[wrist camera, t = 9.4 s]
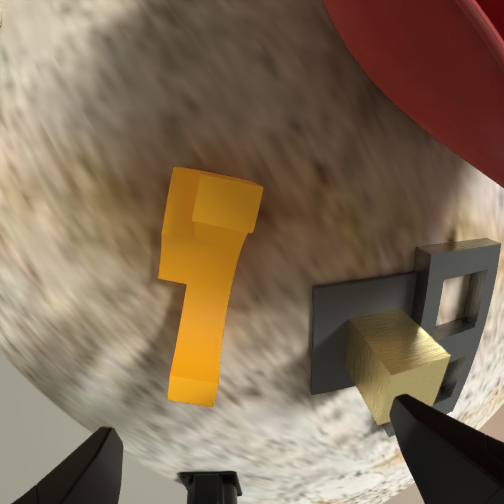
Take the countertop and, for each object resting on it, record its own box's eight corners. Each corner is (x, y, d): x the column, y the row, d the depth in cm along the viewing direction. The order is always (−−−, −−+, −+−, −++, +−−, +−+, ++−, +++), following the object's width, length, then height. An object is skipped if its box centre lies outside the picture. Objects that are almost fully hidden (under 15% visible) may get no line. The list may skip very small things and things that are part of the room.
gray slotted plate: (444, 401, 26) (452, 411, 24) (381, 424, 26) (388, 437, 24) (486, 237, 20) (500, 243, 19) (416, 247, 20) (431, 254, 18)
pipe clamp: (182, 167, 17) (159, 166, 11) (251, 180, 18) (263, 187, 12) (157, 334, 20) (137, 392, 14) (215, 345, 21) (213, 407, 15)
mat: (409, 367, 23) (411, 370, 23) (310, 392, 23) (311, 395, 23) (428, 269, 21) (430, 270, 20) (312, 286, 20) (314, 289, 20)
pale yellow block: (392, 354, 22) (432, 405, 15) (344, 365, 22) (377, 425, 15) (399, 308, 21) (450, 355, 14) (349, 318, 21) (391, 375, 14)
